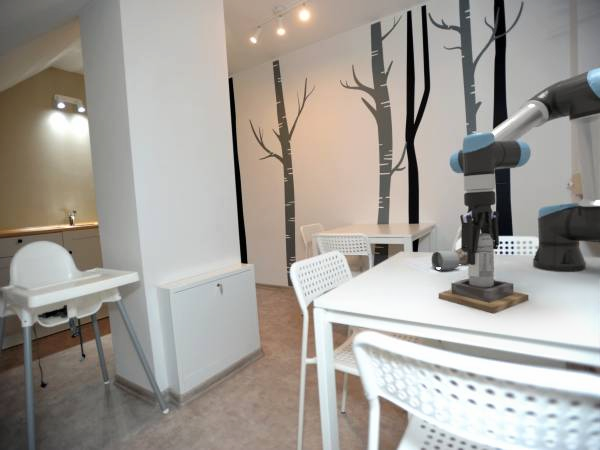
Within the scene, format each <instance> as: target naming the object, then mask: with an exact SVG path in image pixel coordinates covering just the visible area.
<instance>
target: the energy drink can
mask: <svg viewBox="0 0 600 450" xmlns="http://www.w3.org/2000/svg"><path fill="white" fill-rule="evenodd" d="M472 248H473V247H472ZM476 253H479V277H475V276H470V275H468V278H469V284H470V285H471V286H474V287H479V288H484V289H489V288H492V286H493V285H494V280H495V277H494V275H495V274H494V273H495V265H494V266H493V240H492V238H491V237H490V234H486V233H481V232H480V234H479V240H478V246H477V252H476Z"/></svg>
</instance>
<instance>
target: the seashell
mask: <svg viewBox="0 0 600 450" xmlns="http://www.w3.org/2000/svg"><path fill="white" fill-rule="evenodd" d="M453 251H454V252H456V253H457V254H458V255H459V258H460V264H465V265H468V259H467V252H463V251H462V250H461V247H459V248H458V249H455V250H453Z"/></svg>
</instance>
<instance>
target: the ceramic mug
mask: <svg viewBox="0 0 600 450" xmlns="http://www.w3.org/2000/svg"><path fill="white" fill-rule="evenodd" d="M454 251H455V250H438V251H437V250H436V251H434V252H433V253H432V255H431V265H432V267H433V268H436V267H441V269H440V271H439V272H441V270H443V271H448V270H449V269H452V270H456V269H457V268H459V266H460V265H459V264H460V258H459V255H458V254H457V253H456V252H454ZM455 268H456V269H455ZM449 271H450V270H449Z"/></svg>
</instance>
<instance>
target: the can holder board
mask: <svg viewBox="0 0 600 450" xmlns="http://www.w3.org/2000/svg"><path fill="white" fill-rule="evenodd" d="M450 284H451V289H448V290H445V291H441V292H439V293H438V299H440V300H442V301H443V300H444V301H447V302H451V303H455V304H458V305H463V306H466V307H468V308H473V309H475V310H476V309H477V310H480V311H484V312H487V313H491V314H495V313H498V312H501V311H503V310H506V309H509V308H511V307H514V306H516V305H519V304H521V303H525V302H526V301H530V300H529V294H526V293H522V292H518V291H514V283H513V282H512V283H511V282H506V281H500V280H495V279H494V285H493V286H492V288H489V289H484V288H479V287H474V286H471V285H470V284H469V277H468V278H466V279H465V278H464V279H462V280H458V281H454V282H451V283H450Z"/></svg>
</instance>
